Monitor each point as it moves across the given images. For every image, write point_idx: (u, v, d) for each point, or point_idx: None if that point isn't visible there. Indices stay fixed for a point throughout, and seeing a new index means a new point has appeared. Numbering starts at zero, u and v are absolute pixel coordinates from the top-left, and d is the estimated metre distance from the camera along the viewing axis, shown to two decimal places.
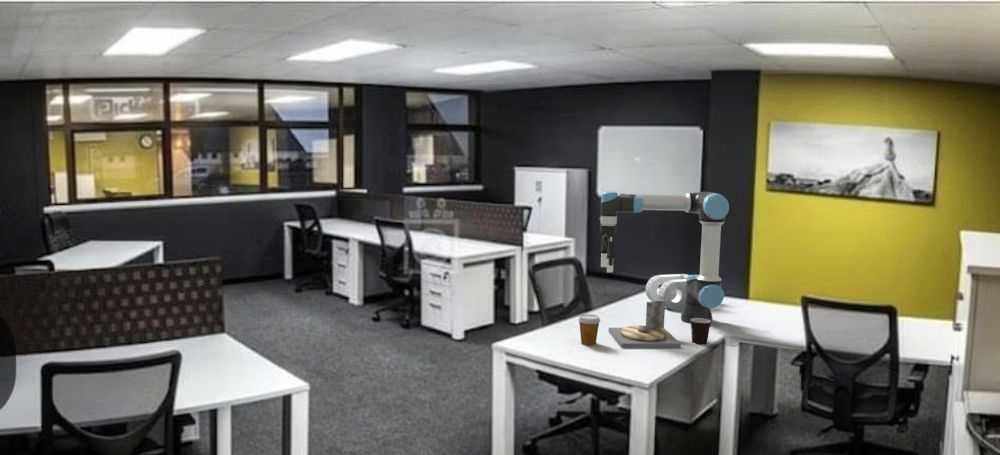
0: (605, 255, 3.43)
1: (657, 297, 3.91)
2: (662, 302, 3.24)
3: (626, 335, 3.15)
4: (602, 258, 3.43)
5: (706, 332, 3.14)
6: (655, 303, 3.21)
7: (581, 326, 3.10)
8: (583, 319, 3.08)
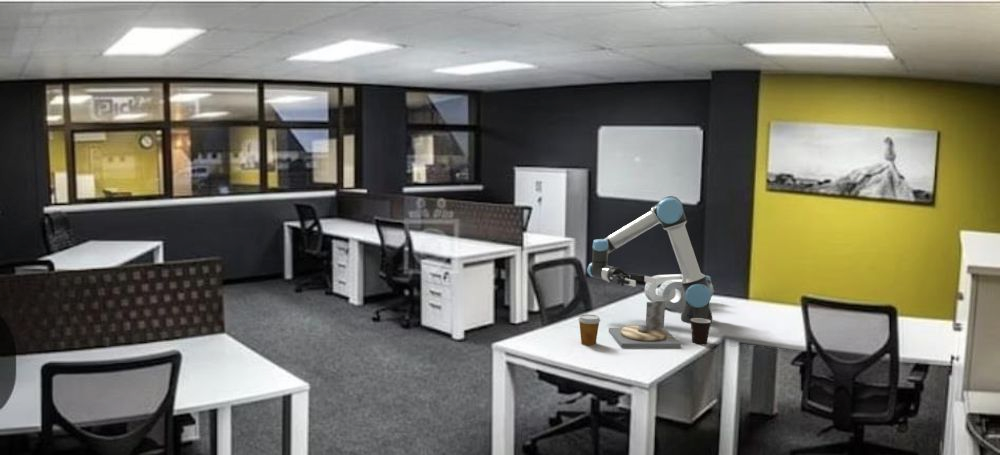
0: (645, 278, 3.35)
1: (656, 297, 3.91)
2: (662, 302, 3.24)
3: (626, 335, 3.15)
4: (647, 281, 3.34)
5: (706, 332, 3.14)
6: (655, 303, 3.21)
7: (581, 326, 3.10)
8: (583, 319, 3.08)
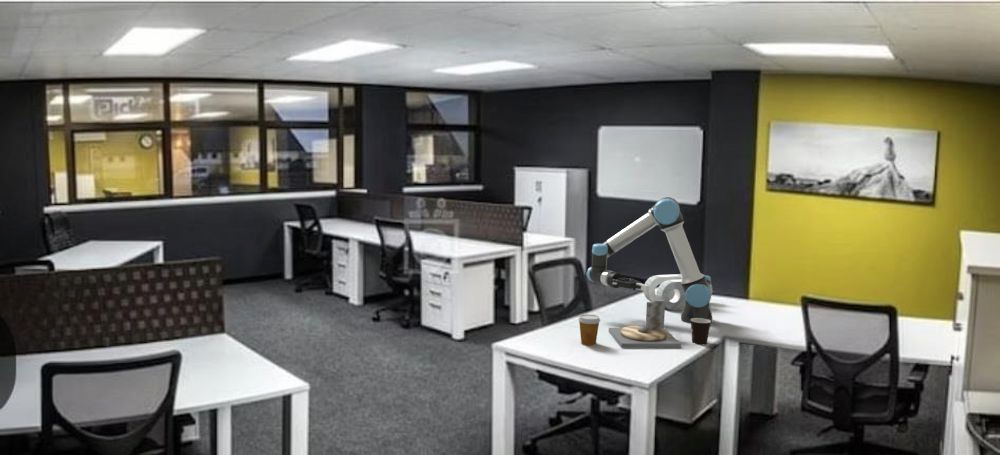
0: None
1: (655, 297, 3.91)
2: (662, 302, 3.24)
3: (626, 335, 3.15)
4: None
5: (706, 332, 3.14)
6: (655, 303, 3.21)
7: (581, 326, 3.10)
8: (583, 319, 3.08)
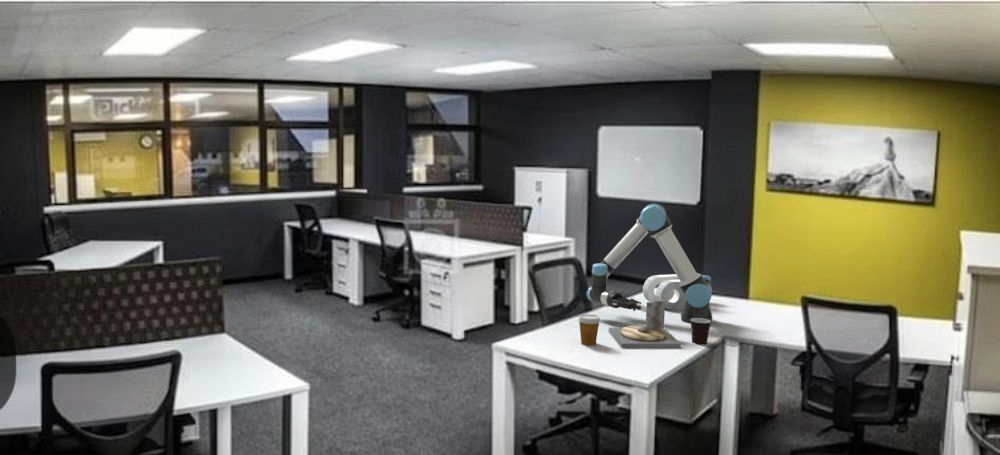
0: None
1: (654, 297, 3.90)
2: (662, 302, 3.24)
3: (626, 335, 3.15)
4: None
5: (706, 332, 3.14)
6: (655, 303, 3.21)
7: (581, 326, 3.10)
8: (583, 319, 3.08)
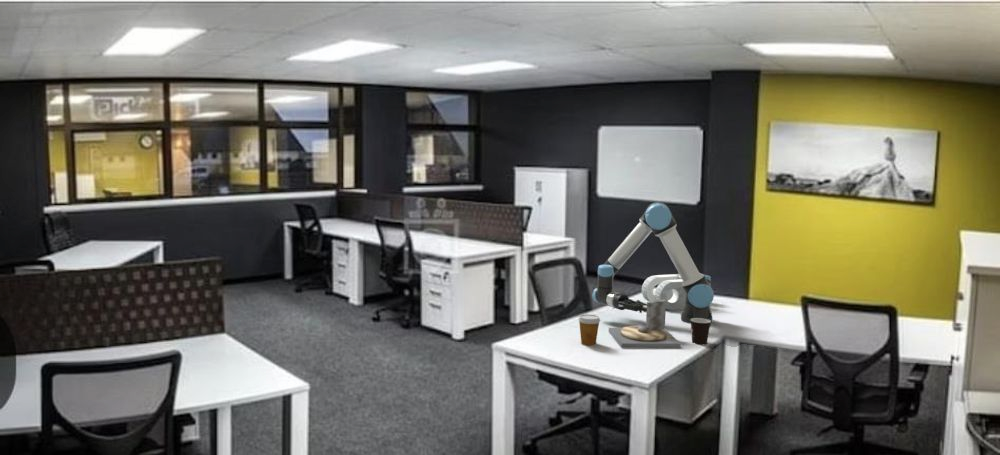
0: None
1: (653, 297, 3.90)
2: (663, 302, 3.23)
3: (625, 335, 3.16)
4: None
5: (706, 332, 3.14)
6: (655, 303, 3.21)
7: (581, 326, 3.10)
8: (583, 319, 3.08)
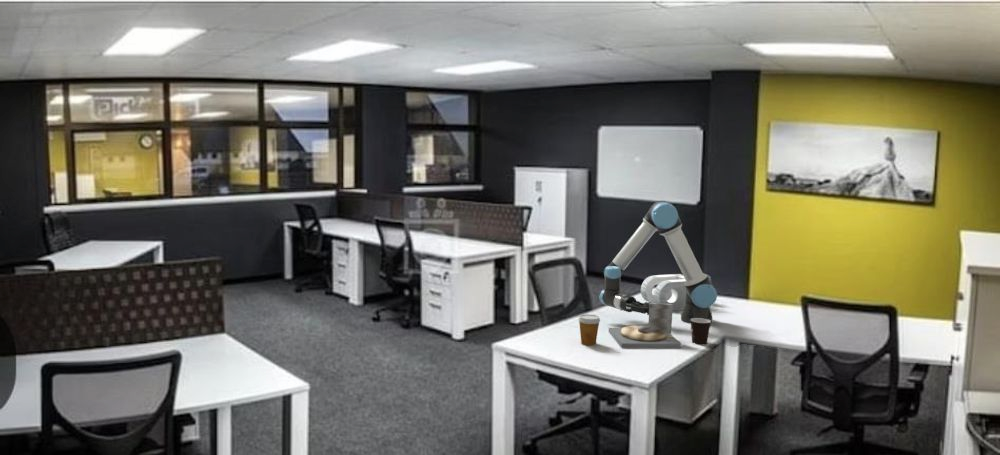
0: None
1: (652, 297, 3.90)
2: (668, 306, 3.16)
3: (621, 331, 3.22)
4: None
5: (706, 332, 3.14)
6: (658, 305, 3.17)
7: (581, 326, 3.10)
8: (583, 319, 3.08)
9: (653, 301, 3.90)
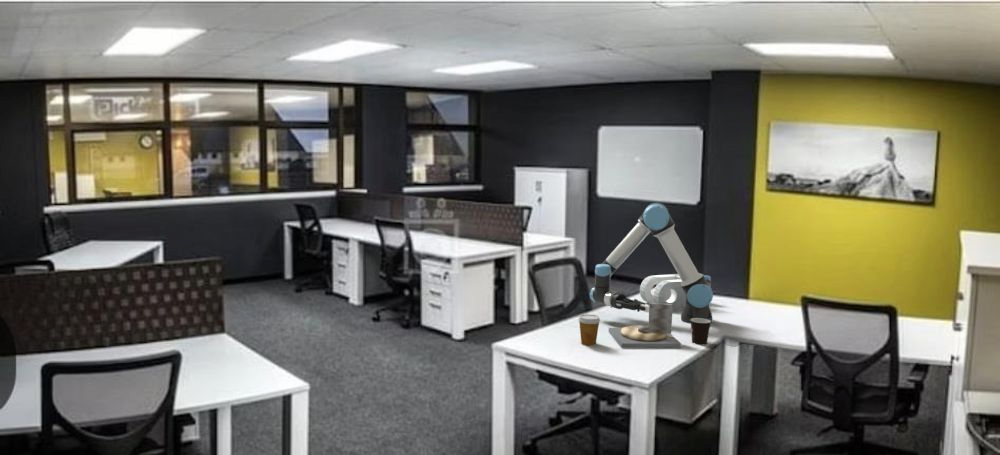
0: None
1: (651, 297, 3.90)
2: (668, 306, 3.16)
3: (621, 330, 3.23)
4: None
5: (706, 332, 3.14)
6: (658, 305, 3.17)
7: (581, 326, 3.10)
8: (583, 319, 3.08)
9: (652, 301, 3.90)
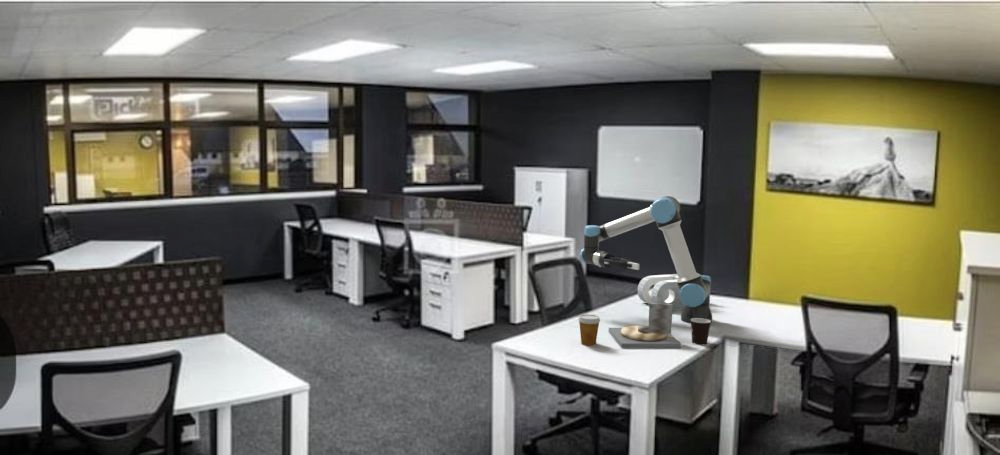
0: None
1: (649, 298, 3.89)
2: (668, 306, 3.16)
3: (621, 330, 3.23)
4: None
5: (706, 332, 3.14)
6: (658, 305, 3.17)
7: (581, 326, 3.10)
8: (583, 319, 3.08)
9: (650, 301, 3.90)
